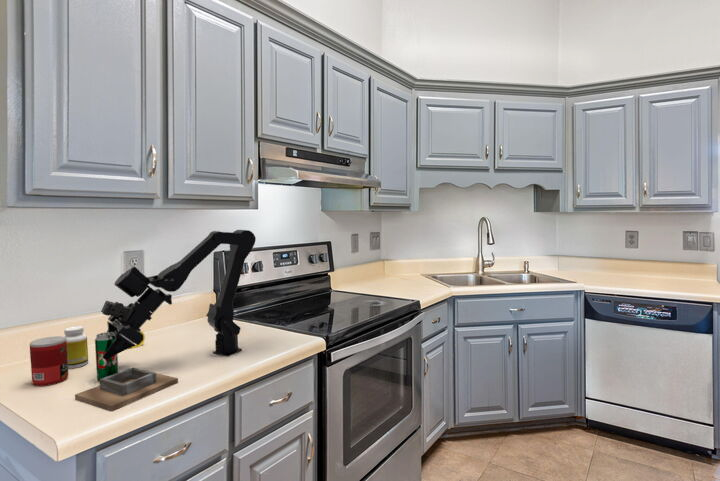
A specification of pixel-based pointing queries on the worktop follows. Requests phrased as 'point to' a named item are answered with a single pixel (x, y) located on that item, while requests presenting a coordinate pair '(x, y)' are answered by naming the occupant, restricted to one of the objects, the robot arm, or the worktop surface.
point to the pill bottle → (76, 347)
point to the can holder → (125, 388)
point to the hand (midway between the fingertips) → (101, 354)
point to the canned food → (49, 360)
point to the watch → (141, 342)
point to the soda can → (101, 346)
